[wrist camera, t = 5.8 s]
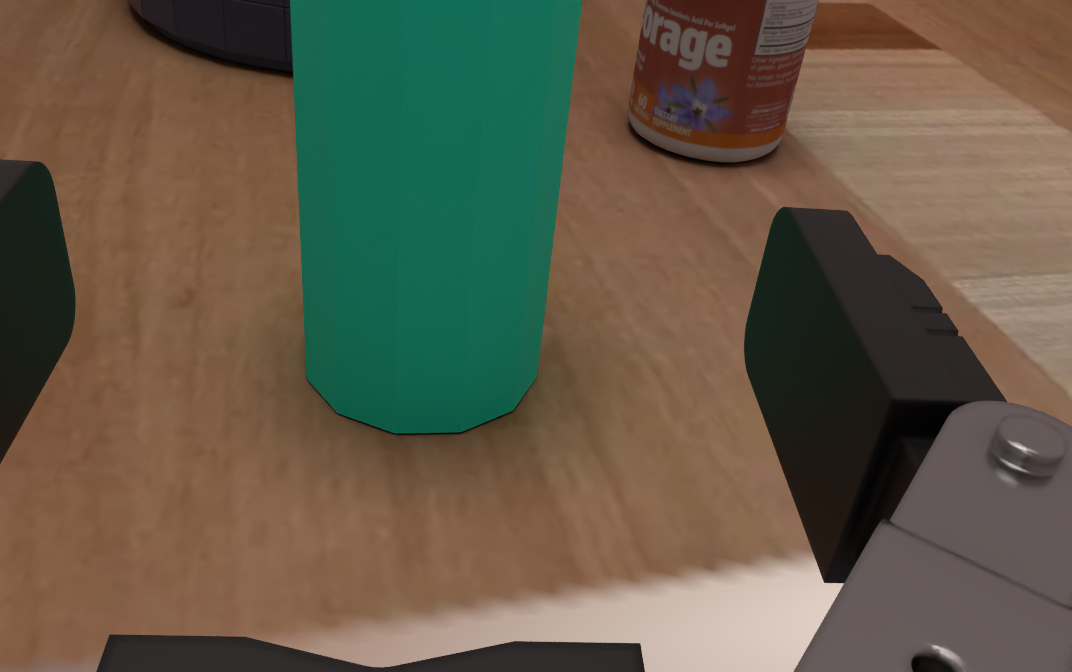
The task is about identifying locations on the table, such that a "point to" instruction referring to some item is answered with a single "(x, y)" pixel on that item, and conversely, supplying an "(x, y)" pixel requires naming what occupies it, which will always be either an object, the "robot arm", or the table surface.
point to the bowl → (226, 28)
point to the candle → (428, 200)
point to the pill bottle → (718, 75)
